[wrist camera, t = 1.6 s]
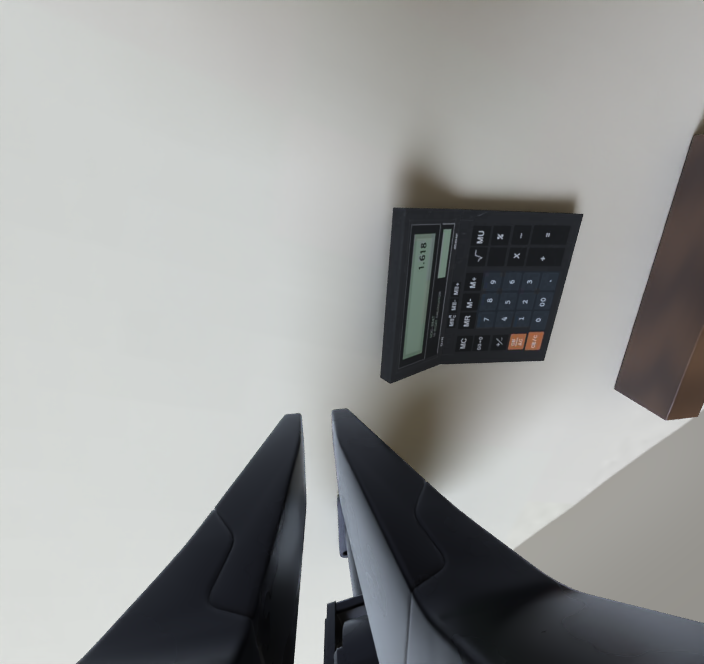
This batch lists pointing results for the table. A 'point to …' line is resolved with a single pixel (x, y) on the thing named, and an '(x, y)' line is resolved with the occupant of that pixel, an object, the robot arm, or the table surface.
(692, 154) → the rail
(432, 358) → the calculator
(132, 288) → the table surface
